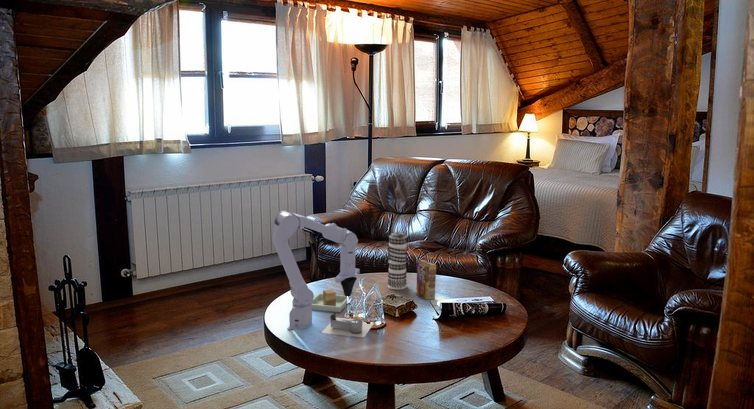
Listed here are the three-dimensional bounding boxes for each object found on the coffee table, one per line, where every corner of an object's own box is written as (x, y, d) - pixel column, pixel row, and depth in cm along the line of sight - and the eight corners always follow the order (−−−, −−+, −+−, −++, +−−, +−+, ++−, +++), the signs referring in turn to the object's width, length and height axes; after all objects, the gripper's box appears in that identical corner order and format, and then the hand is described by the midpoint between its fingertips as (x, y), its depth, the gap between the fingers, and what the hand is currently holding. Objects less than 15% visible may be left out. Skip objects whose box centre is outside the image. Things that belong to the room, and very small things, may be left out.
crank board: (363, 340, 213) (363, 337, 213) (321, 335, 217) (321, 332, 217) (375, 323, 229) (375, 321, 228) (335, 319, 232) (335, 317, 232)
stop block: (335, 305, 246) (335, 291, 245) (326, 307, 244) (326, 293, 243) (332, 302, 249) (332, 289, 248) (323, 304, 247) (323, 290, 246)
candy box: (435, 298, 258) (436, 264, 255) (427, 300, 256) (428, 265, 253) (423, 292, 266) (424, 259, 263) (415, 294, 263) (416, 260, 261)
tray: (340, 314, 238) (340, 307, 238) (306, 311, 242) (306, 304, 241) (350, 303, 252) (350, 296, 251) (318, 300, 255) (318, 293, 254)
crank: (364, 330, 219) (364, 317, 218) (358, 334, 215) (359, 321, 214) (333, 324, 224) (333, 311, 223) (327, 328, 220) (327, 315, 219)
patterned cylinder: (384, 284, 277) (384, 231, 272) (403, 282, 280) (403, 230, 275) (390, 290, 268) (391, 236, 264) (410, 288, 271) (411, 234, 267)
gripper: (346, 267, 222) (346, 302, 224) (366, 258, 234) (366, 292, 237) (330, 265, 225) (330, 299, 228) (350, 256, 238) (350, 289, 240)
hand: (347, 295), depth 232 cm, fingers closed
